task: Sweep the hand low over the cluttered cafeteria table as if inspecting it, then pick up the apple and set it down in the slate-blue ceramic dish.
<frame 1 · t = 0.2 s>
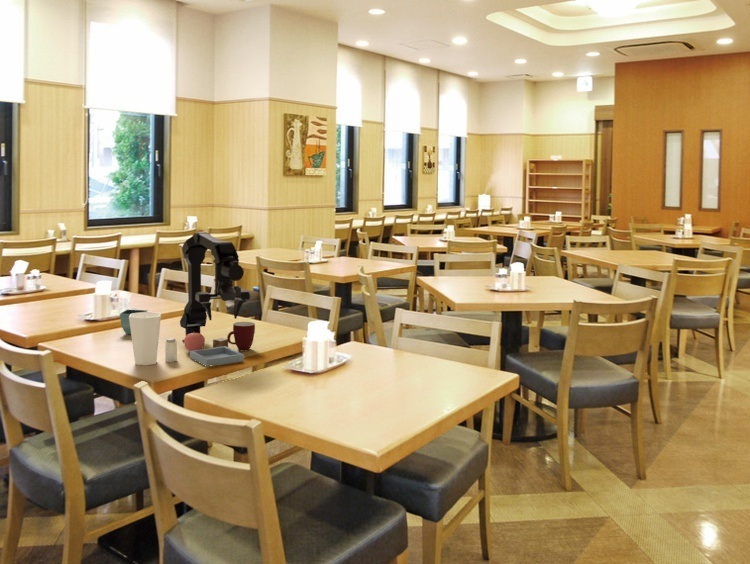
hand: (223, 319, 260), 14 cm above the table, fingers open, 9 cm apart
walnut block: (220, 349, 272), on the table
cup: (146, 363, 251), on the table
apple: (194, 352, 267), on the table
white shaker: (171, 360, 254), on the table
mug: (241, 350, 272), on the table
dish: (216, 359, 257), on the table
flower pot: (134, 333, 294), on the table
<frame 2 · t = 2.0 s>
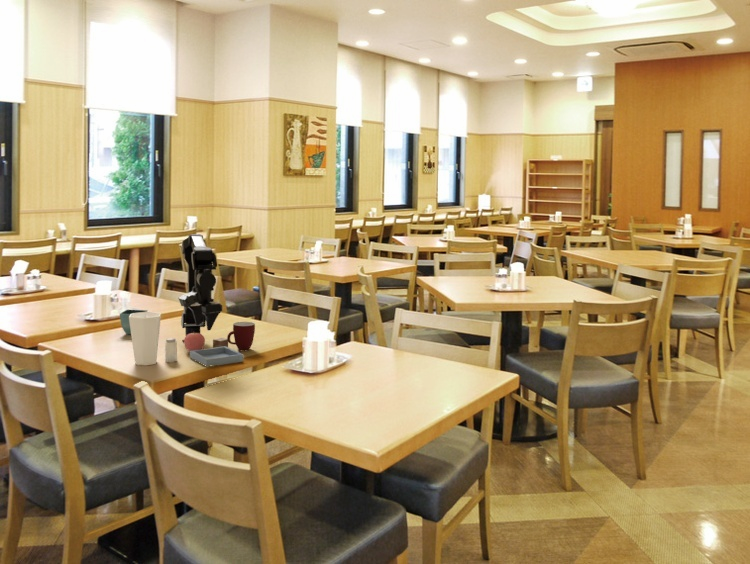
hand: (203, 327, 256), 12 cm above the table, fingers open, 9 cm apart
nothing on the table moved.
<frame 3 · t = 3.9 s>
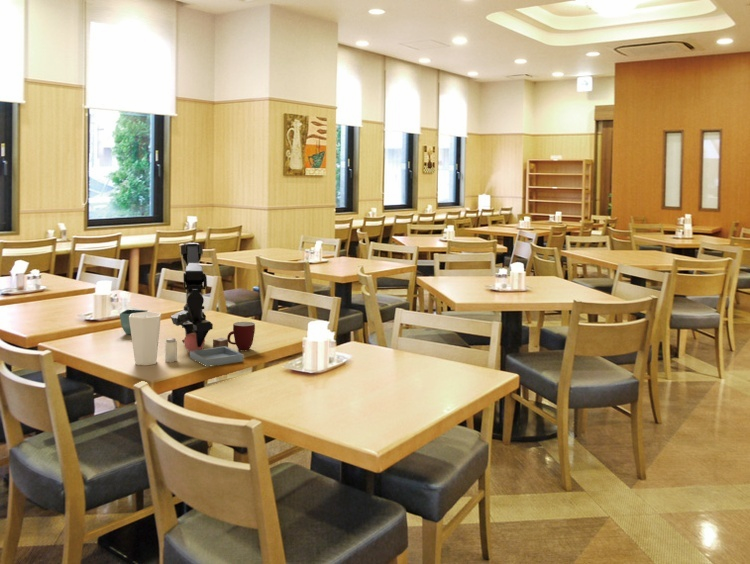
hand: (194, 344, 267), 3 cm above the table, fingers closed on apple, 7 cm apart
apple: (194, 352, 267), on the table, touching gripper
everything else where it was.
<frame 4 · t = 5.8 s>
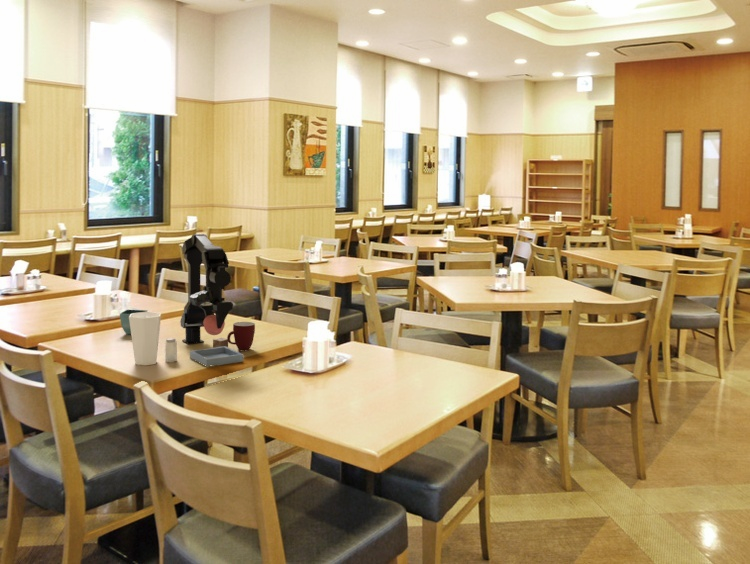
hand: (214, 326, 256), 12 cm above the table, fingers closed on apple, 7 cm apart
apple: (214, 335, 257), point 9 cm above the table, touching gripper
everything else where it was.
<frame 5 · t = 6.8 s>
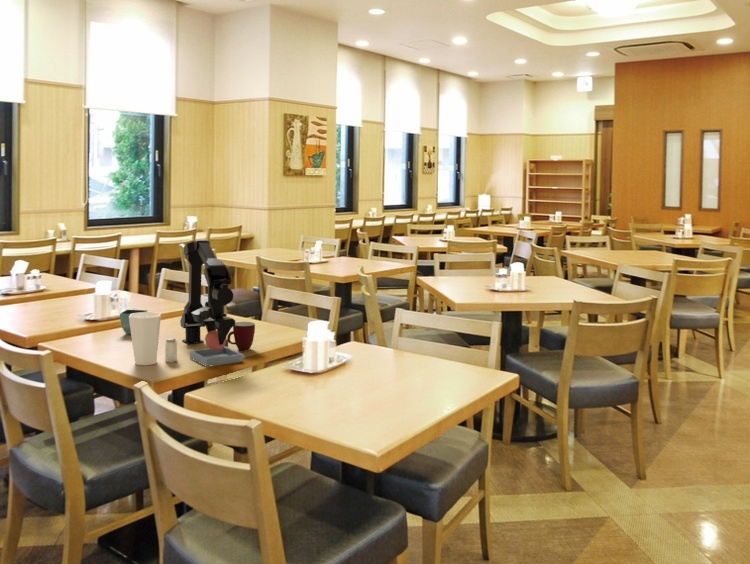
hand: (216, 342, 257), 6 cm above the table, fingers closed on apple, 7 cm apart
apple: (215, 351, 257), point 3 cm above the table, touching gripper
everything else where it was.
when the fingers open (5 cm above the table, at t = 7.7 s): apple drops 1 cm, resting on dish.
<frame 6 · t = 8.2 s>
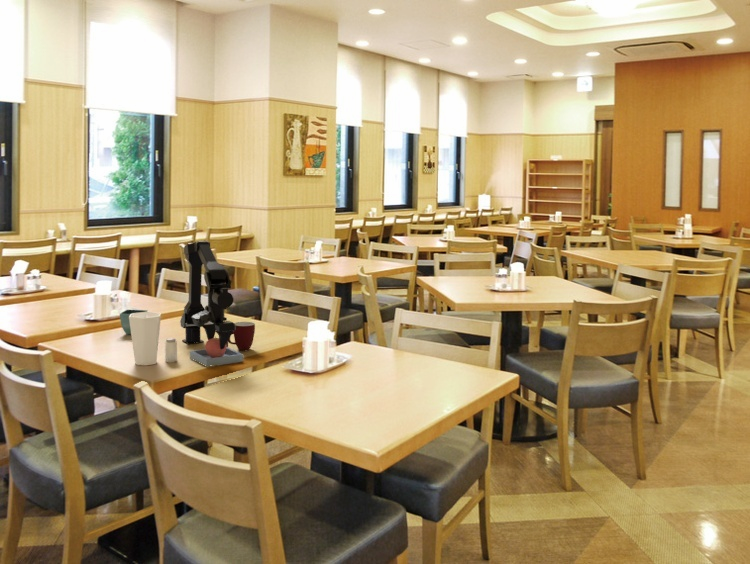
hand: (216, 346, 257), 5 cm above the table, fingers open, 9 cm apart
apple: (216, 358, 257), resting on dish
everything else where it was.
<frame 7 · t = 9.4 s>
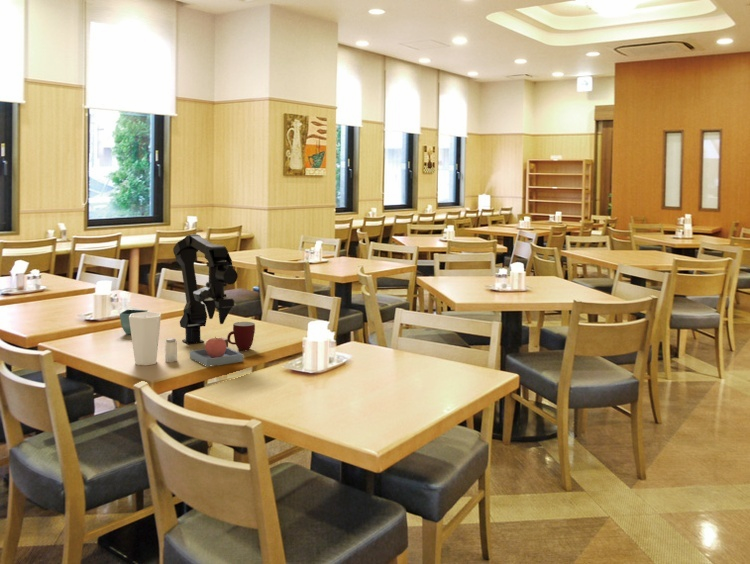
hand: (216, 321, 267), 12 cm above the table, fingers open, 9 cm apart
nothing on the table moved.
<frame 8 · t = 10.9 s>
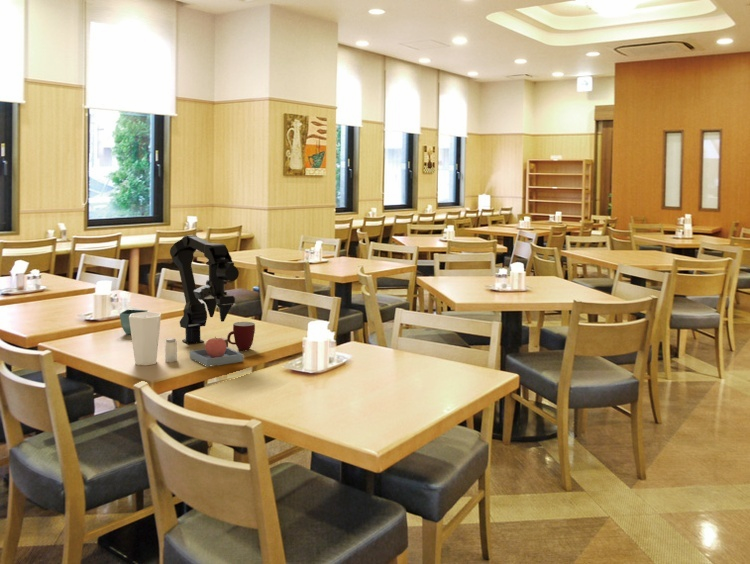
hand: (216, 319, 269), 12 cm above the table, fingers open, 9 cm apart
nothing on the table moved.
at the end: apple inside the target area on the dish (0.1 cm from its centre), point 0.4 cm above the dish's base; the gripper is holding nothing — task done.
